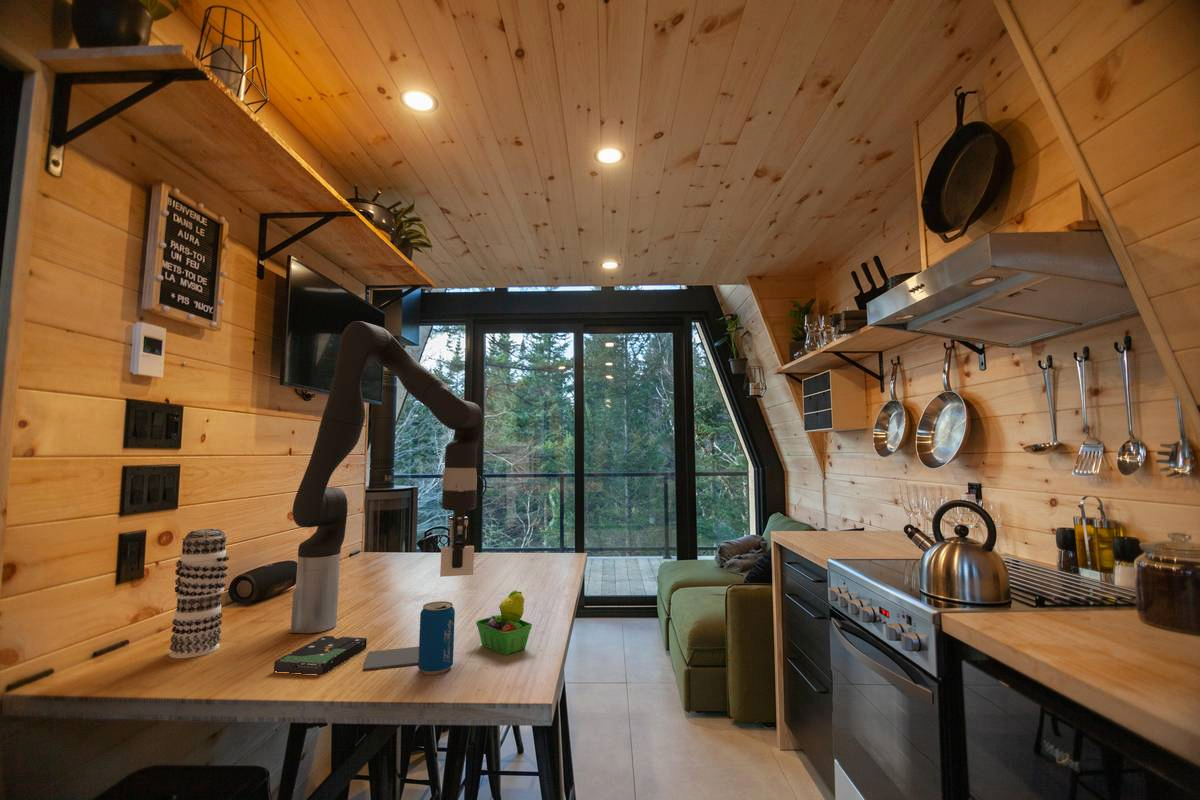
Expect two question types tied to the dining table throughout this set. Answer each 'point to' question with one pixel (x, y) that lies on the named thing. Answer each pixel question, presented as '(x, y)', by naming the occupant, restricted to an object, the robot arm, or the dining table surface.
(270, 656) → the dining table surface
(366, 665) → the mat
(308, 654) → the disk drive
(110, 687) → the dining table surface
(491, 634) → the fruit basket
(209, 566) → the decorative candle
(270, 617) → the dining table surface
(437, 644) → the beverage can
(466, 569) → the tile
